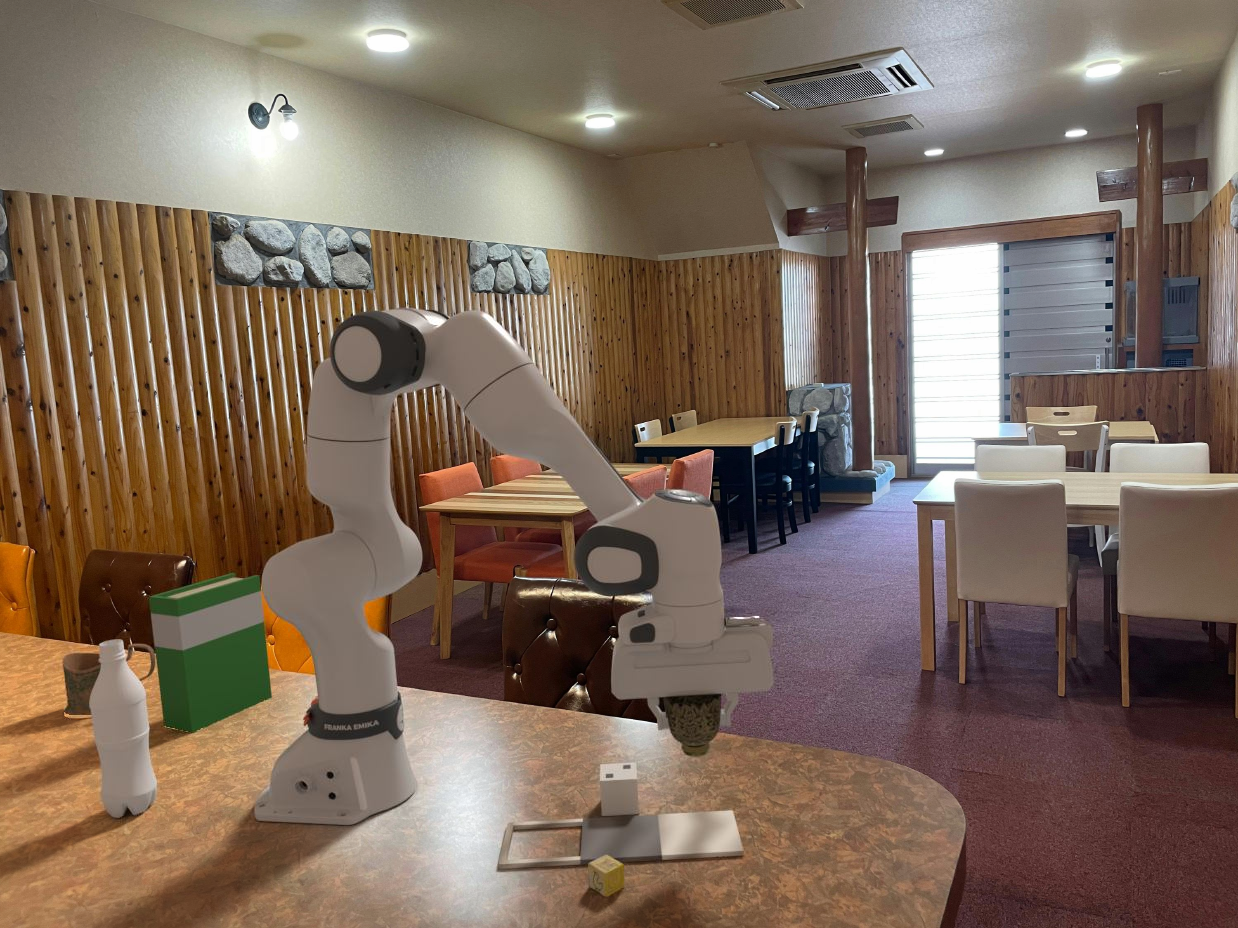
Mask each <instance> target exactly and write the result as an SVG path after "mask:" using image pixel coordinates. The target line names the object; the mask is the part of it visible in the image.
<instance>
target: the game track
mask: <svg viewBox="0 0 1238 928" xmlns="http://www.w3.org/2000/svg"><path fill="white" fill-rule="evenodd" d="M571 827H582V828H581V842H580V856H579V855H578V856H562V857H560V856H559V857H542V858H540V857H539V858H526V859H525V858H524V859H522V858H521V859H509V858H508V857H509V853H510V848H511V844H512V839H513V833H514V830H516V831H517V830H531V829H534V830H536V829H549V828H550V829H552V828H553V829H554V828H571ZM505 829H506V830H505V835H504V838H503V842H502V843H503V844H502V847H501V850H500V856H499V859H498V870H502V869H503V870H504V869H505V870H506V869H521V868H522V869H523V868H525V869H526V868H538V867H539V868H540V867H542V868H543V867H557V866H574V865H588V863H590V862H592V861H594V860H596V859H598V858H600V857H602V856H604V855H608V856H610V857H612V858H613V859H615V860H617V861H619V862H620V863H630V862H631V863H632V862H647V861H650V862H651V861H665V860H667V861H670V860H683V859H701V858H702V859H703V858H722V857H723V856H724V857H737V856H739V857H741V856H744V851H745V850H744V847H743V844H742V839H741V836H740V834H739V833H740V832H739V829H738V825H737V821H736V817H735V812H734V810H732V809H731V810H729V809H728V810H714V811H697V812H678V813H677V812H676V813H663V814H662V813H660V814H642V815H641V814H640V815H639V814H638V815H620V816H602V817H589V818H588V817H587V818H585V817H584V818H569V819H566V818H565V819H554V820H553V819H552V820H551V819H550V820H549V819H548V820H534V821H516V822H515V821H514V822H507V825H506V828H505ZM717 856H718V857H717ZM724 857H723V858H724Z"/></svg>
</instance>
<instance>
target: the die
mask: <svg viewBox="0 0 1238 928" xmlns="http://www.w3.org/2000/svg"><path fill="white" fill-rule="evenodd" d="M599 789H600V803H601V804H600V805H601V816H602V817H615V816H633V815H639V814H640V809H639V792H638V791H639V789H638V771H637V762H636V761H635V762H621V763H619V762H618V763H602V764H601V763H600V767H599Z"/></svg>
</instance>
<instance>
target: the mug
mask: <svg viewBox="0 0 1238 928" xmlns="http://www.w3.org/2000/svg"><path fill="white" fill-rule="evenodd" d="M133 648H141V649H145V650H147V651H148V653H149V657H150V669H149V671H148V673H147V675H145V676H142V677H141V678H138V679H139V680H140V682H141V681H144V680H145V679H147V678H149V677H150V676H151V675H152V674H153V673H154V671H155V668H156V653H155V649H153V647H151V646H150V645H148V644H145V643H131V644H129V645H127V657H126V658H125V659H126V662H128V661H130V660H131V658H132V656H133ZM99 655H100V653H97V652H72V653H68V654H65V656H63V657H62V662H61V663H62V668H63V676H64V683H65V690H66V693H65V694H66V695H65V696H66V698H67V699H66V702H67V705H66V707H65V708H64V709H65V710H63V711H64V712H65V713H66V714H69V715H91V709H90V707H89V701H90V695H91V692H92V690H93V687H94V685H95V682H96V680H97V678H98V676H99V673H100V669H101V663H100V662H99V658H100V657H99Z"/></svg>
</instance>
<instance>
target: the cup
mask: <svg viewBox="0 0 1238 928" xmlns="http://www.w3.org/2000/svg"><path fill="white" fill-rule="evenodd" d="M722 695H723V694H707V695H689V696H672V697H662V701H663V706H664V707H663V708H664V712H666V716H667V718H668V723H669V727H670V729H669V731H670V734H671V735H672V737H673V739H675V741H677V742H678V743H679V744H681V745H680V749H681V751H682V753H683V754H684V755H685V756H687V757H690V758H691V757H692V758H697V757H698V758H699V757H703V756H706V755H707V754H709V752H710V750H711V743H710V742H712V741H713V740H714V739H715V738H716V737H717V735H718V733H719V730H720V727H719V726H720V715H721V709H722Z"/></svg>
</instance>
